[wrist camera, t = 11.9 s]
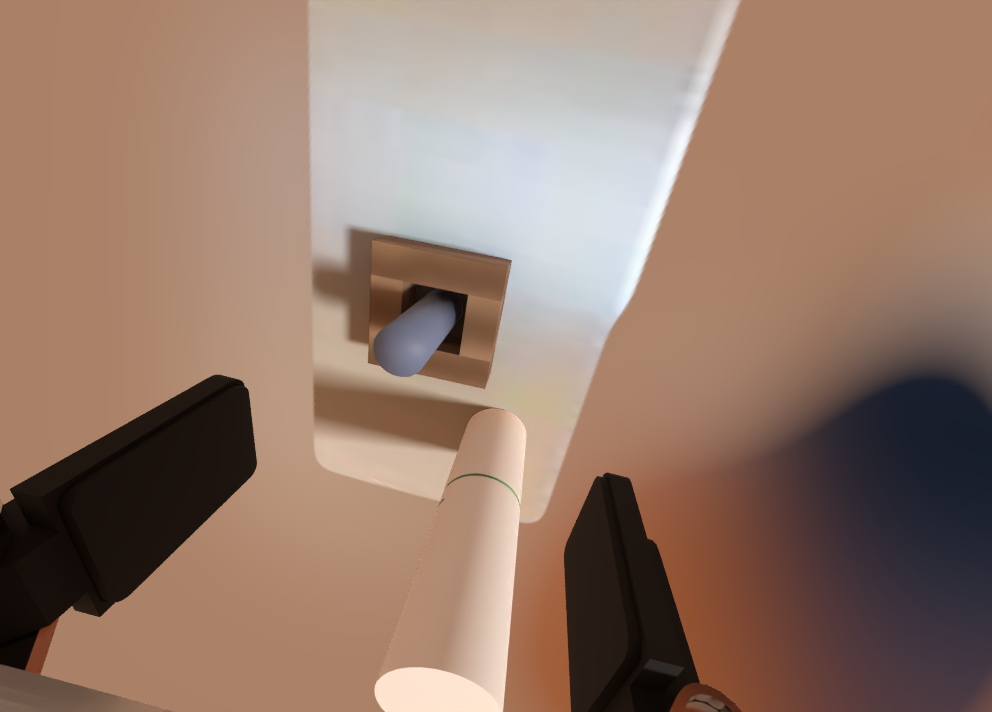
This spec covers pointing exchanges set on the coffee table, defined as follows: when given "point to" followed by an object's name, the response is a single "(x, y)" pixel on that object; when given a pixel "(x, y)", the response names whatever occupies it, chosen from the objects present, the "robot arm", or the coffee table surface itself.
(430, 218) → the coffee table surface
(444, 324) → the peg
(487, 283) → the socket block
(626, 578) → the robot arm
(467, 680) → the cylindrical container
